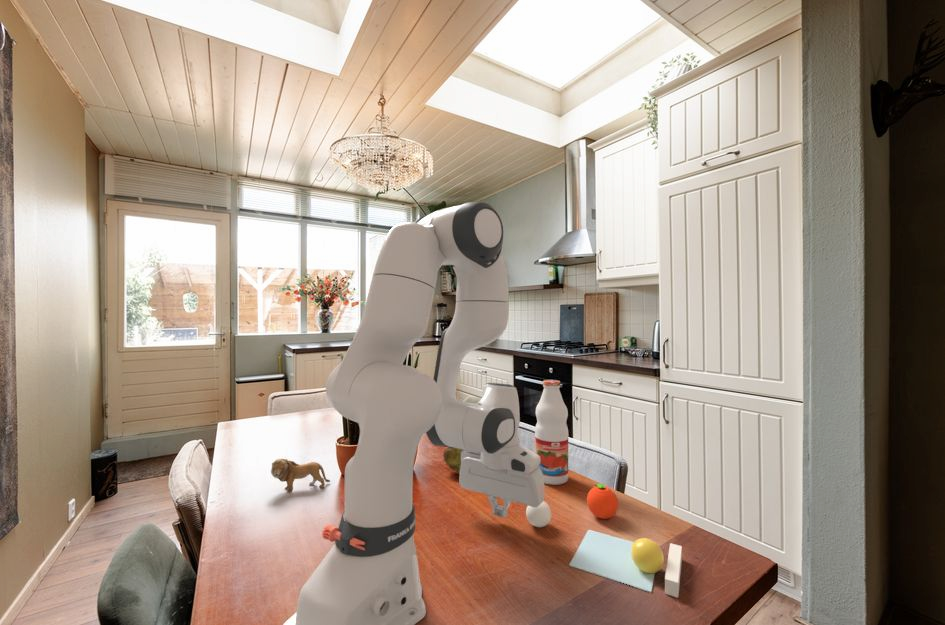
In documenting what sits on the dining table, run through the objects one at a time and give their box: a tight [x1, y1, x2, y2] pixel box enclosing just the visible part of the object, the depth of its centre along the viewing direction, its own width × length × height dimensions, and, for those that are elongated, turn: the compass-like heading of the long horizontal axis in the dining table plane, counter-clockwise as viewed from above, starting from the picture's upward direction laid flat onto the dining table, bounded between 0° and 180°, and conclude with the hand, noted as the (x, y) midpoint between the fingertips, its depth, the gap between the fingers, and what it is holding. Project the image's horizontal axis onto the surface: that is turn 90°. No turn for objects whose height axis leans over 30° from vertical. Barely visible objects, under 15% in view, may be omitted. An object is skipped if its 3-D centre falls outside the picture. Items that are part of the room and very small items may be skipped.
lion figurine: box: [270, 458, 331, 494], centre depth 106 cm, size 15×5×9 cm, turn 120°
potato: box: [443, 447, 463, 475], centre depth 115 cm, size 8×13×8 cm, turn 61°
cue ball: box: [525, 501, 552, 528], centre depth 87 cm, size 6×6×6 cm
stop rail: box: [664, 542, 683, 599], centre depth 71 cm, size 12×2×2 cm, turn 149°
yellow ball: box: [631, 537, 665, 574], centre depth 72 cm, size 6×6×6 cm
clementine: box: [586, 483, 619, 520], centre depth 92 cm, size 8×7×7 cm
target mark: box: [568, 529, 656, 593], centre depth 76 cm, size 14×14×1 cm
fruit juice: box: [534, 379, 569, 486], centre depth 112 cm, size 9×9×28 cm
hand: (500, 515), depth 88 cm, fingers closed
